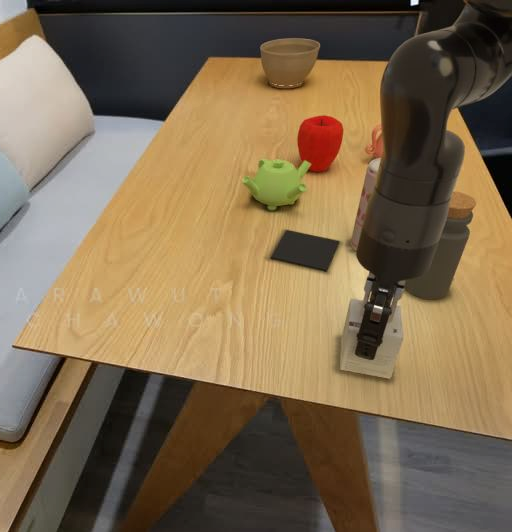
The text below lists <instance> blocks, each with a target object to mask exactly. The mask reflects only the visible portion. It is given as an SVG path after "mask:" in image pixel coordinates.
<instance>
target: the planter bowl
mask: <svg viewBox="0 0 512 532" xmlns="http://www.w3.org/2000/svg"><path fill="white" fill-rule="evenodd" d="M320 48H321V44H320V42H318V41H316V40H313V39H308V38H296V37H295V38H294V37H289V38H278V39H273V40H269V41H266V42H264V43H262V44H261V45H260V48H259V50H260V61H261V66H262V69H263V72H264V75H265V76H266V78H267V79H268V81H269V82H268V83H269V85H270V86H271V87H273V88H277V89H293V88H298V87H301V86H302V85H303V84H304V82H305V79H306V78H307V77H308V76H309V75H310V74H311V72H312V71H313V69H314V67H315V65H316V62H317V60H318V55H319V51H320ZM303 81H304V82H303ZM270 82H271V83H270ZM302 82H303V83H302ZM272 83H273V84H272ZM300 83H301V84H300ZM274 84H277V85H274ZM297 84H298V85H297ZM279 85H284V86H279ZM289 85H293V86H289Z"/></svg>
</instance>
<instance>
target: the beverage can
mask: <svg viewBox="0 0 512 532" xmlns="http://www.w3.org/2000/svg"><path fill="white" fill-rule="evenodd" d="M380 160H381V158H378V159H377V158H374V159H373V160H371V161H369V163H368V166H367V168H366V171H365V175H364V180H363V185H362V189H361V194H360V198H359V202H358V206H357V211H356V216H355V219H354V220H355V221H354V224H353V228H352V234H351V238H350V243H349V244H350V247H351V248H352V250H354V252H356V251H357V247H358V243H359V238H360V234H361V230H362V225H363V221H364V217H365V213H366V208H367V204H368V201H369V199H370V196H371V194H372V191H373V189H374V185H375V181H376V177H377V173H378V169H379V164H380Z"/></svg>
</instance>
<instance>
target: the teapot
mask: <svg viewBox="0 0 512 532" xmlns="http://www.w3.org/2000/svg"><path fill="white" fill-rule="evenodd" d="M310 166H311V163H309V162H307V161H305V160H304V162H303V163H302V162H301V164H300V166H299V168H298V169H297V168H296V166H295V165H294V164H293V163H292V162H290V161H286V160H284V159H282V158H276V159H273V160H269V159H268V158H261V159H259V161H258V170H257V171H256V172H255V174H254V175H253V178H251V176H249V175H246V176H244V177H242V180H241V182H242V184H243V185H244V186H245V187H246V188H247V189H248V190H250V193H251V195H252V196H253V198H254V199H255V200H256V201H258V202H259V203H261V204H264V205H267V206H266V208H267V210H270V211H275V210H276V209H277V207H280V206H281V207H282V206H287V205H294V204H295V203H296V202H295V201H296V200H297V199H299V198H300V197H301V196H302V193H304V192H305V191H307V185H306V184H305V183H303V181H302V179H303V177H305V175H306V173H307V172H308V171H309V167H310Z"/></svg>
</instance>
